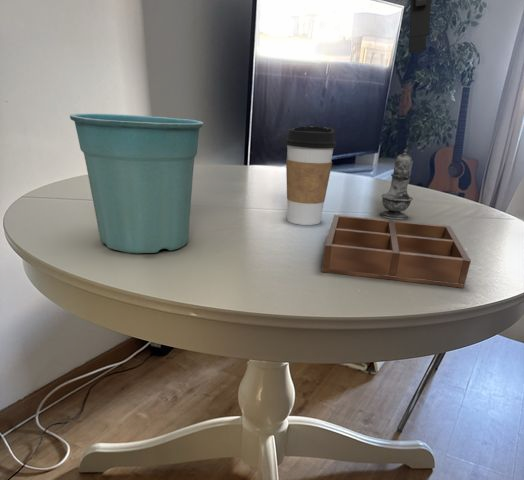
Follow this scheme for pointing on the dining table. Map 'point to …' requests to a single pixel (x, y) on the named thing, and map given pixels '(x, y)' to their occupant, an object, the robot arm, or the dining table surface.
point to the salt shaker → (398, 189)
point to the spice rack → (395, 251)
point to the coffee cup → (308, 172)
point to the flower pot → (139, 178)
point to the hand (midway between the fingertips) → (417, 44)
